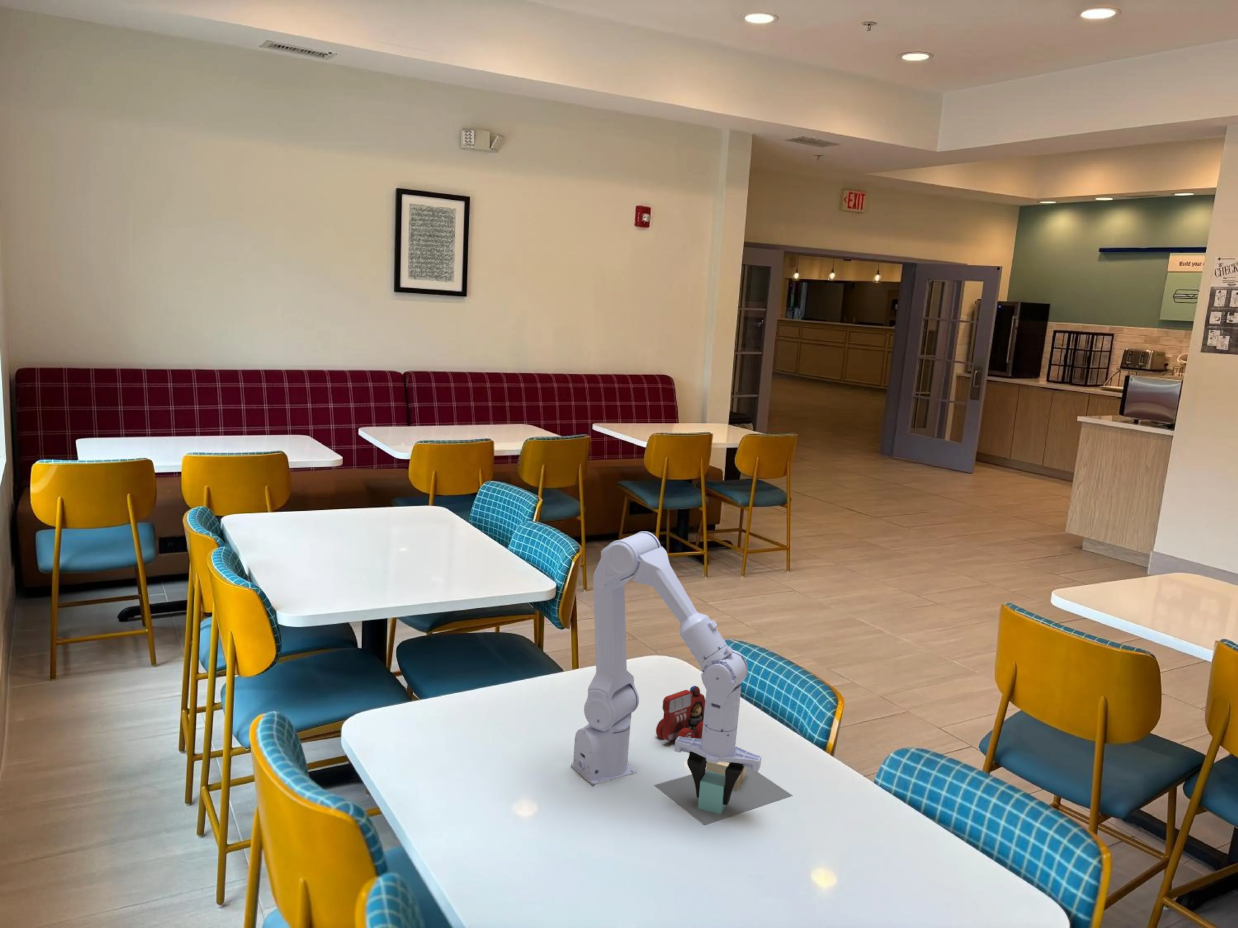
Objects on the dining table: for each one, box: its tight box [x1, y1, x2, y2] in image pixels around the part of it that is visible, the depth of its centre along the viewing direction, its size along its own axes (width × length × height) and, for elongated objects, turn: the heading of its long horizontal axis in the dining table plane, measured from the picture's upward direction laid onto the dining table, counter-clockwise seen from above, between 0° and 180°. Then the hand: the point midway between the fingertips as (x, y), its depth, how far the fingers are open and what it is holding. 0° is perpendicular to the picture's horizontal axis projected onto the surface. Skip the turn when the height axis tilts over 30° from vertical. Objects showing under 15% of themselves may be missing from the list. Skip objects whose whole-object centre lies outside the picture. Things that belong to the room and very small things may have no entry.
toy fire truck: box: [655, 685, 706, 742], centre depth 182 cm, size 7×12×10 cm, turn 133°
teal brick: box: [698, 771, 726, 814], centre depth 158 cm, size 4×4×5 cm
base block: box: [706, 761, 746, 790], centre depth 168 cm, size 6×6×4 cm
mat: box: [653, 767, 793, 826], centre depth 164 cm, size 20×14×1 cm
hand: (713, 798), depth 159 cm, fingers closed on teal brick, 4 cm apart
